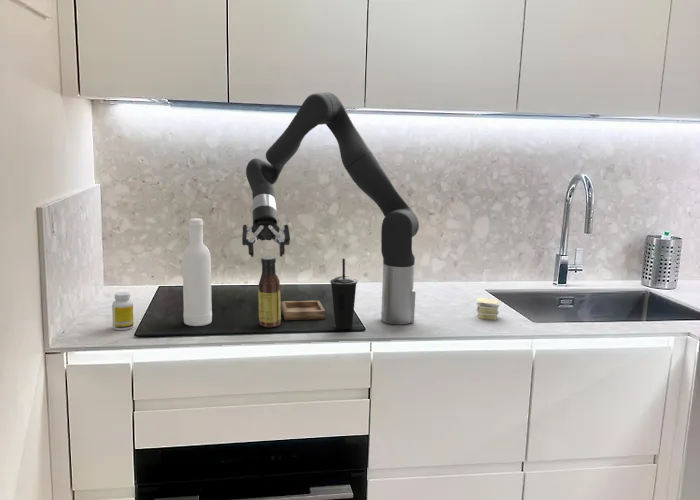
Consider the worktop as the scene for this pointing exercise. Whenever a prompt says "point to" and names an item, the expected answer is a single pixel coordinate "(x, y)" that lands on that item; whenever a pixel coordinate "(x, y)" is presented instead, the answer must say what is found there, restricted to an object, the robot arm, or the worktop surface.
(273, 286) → the sauce bottle
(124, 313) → the supplement bottle
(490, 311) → the pale yellow layered block
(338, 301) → the drinking cup
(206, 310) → the bottle
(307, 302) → the tray
